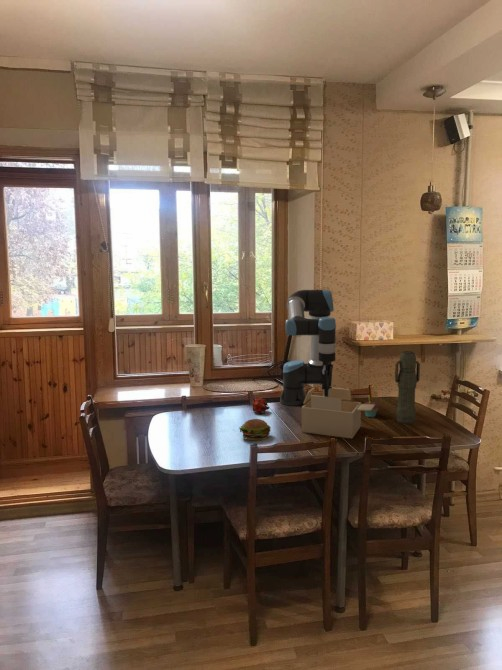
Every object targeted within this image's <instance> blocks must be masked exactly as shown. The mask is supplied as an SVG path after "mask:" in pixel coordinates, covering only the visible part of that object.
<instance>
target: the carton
mask: <svg viewBox="0 0 502 670" xmlns="http://www.w3.org/2000/svg"><path fill="white" fill-rule="evenodd" d="M361 404H362V402H360V401H352V400H351V401H350V400H341V410H342V411H333V410H324V409H315V408H311V399H309V400H308V401H307V403H306V404H303V405H302V406H301V433H307V434H314V435H315V434H316V435H323V436H329V437H336V438H337V437H338V438H344V439H353V438H354V437H355V436H356V434H357V432H359V429H361V424H362V422H361V421H362V411H357V409H358V407H359V406H360V405H361Z"/></svg>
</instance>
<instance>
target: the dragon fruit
mask: <svg viewBox="0 0 502 670" xmlns="http://www.w3.org/2000/svg"><path fill="white" fill-rule="evenodd" d="M251 407H252V412H255V413H256V414H258V415H261V414H262V413H265V412H266V411H268V410H269V409H270V406H268V402H267V401H266V399H265V398H262V397H256V398H254V399H253V401H252V402H251Z"/></svg>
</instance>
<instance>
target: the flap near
mask: <svg viewBox="0 0 502 670" xmlns="http://www.w3.org/2000/svg"><path fill="white" fill-rule="evenodd" d="M310 400H311V408H315V409H324V410H333V411H342V410H341V401H342V400H341V398H337V397H327V396H323V395H315V394H312V395H311V398H310Z"/></svg>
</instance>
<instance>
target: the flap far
mask: <svg viewBox="0 0 502 670" xmlns="http://www.w3.org/2000/svg"><path fill="white" fill-rule="evenodd" d="M331 387H332V389H331V388H329V389H330V397H337V398H341V401H351V402H352V394H351V388H342V387H333V386H331ZM321 393H322V396H324V389H322V388H321Z"/></svg>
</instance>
